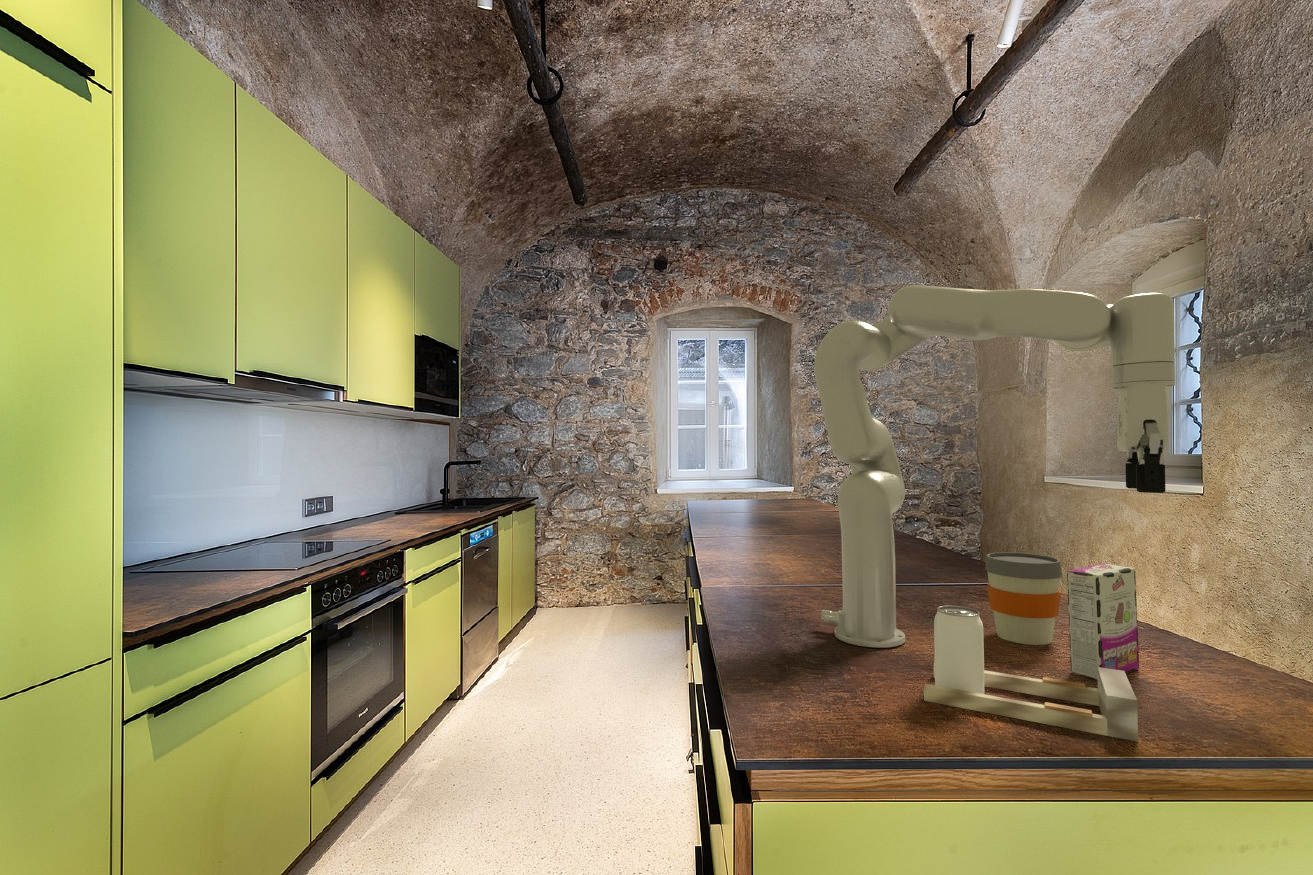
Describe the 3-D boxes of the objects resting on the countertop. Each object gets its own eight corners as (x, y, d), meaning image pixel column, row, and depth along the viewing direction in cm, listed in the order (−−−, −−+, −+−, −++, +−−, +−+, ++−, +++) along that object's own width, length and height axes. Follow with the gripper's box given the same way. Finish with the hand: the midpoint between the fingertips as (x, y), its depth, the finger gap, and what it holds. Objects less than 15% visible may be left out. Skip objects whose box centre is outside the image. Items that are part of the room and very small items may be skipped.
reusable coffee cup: (984, 641, 113) (982, 559, 113) (988, 624, 124) (986, 550, 124) (1065, 652, 106) (1063, 566, 107) (1062, 633, 117) (1060, 555, 117)
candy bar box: (1105, 660, 102) (1103, 562, 102) (1140, 670, 98) (1138, 567, 98) (1067, 672, 97) (1065, 569, 97) (1102, 683, 93) (1099, 574, 93)
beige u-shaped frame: (924, 700, 86) (923, 665, 87) (934, 675, 96) (934, 643, 96) (1138, 741, 74) (1137, 700, 74) (1125, 707, 84) (1124, 670, 84)
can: (990, 703, 85) (989, 617, 86) (941, 699, 87) (939, 615, 87) (976, 685, 92) (975, 605, 92) (930, 682, 93) (929, 603, 93)
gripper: (1104, 383, 102) (1106, 486, 101) (1120, 373, 87) (1122, 493, 86) (1162, 381, 98) (1164, 487, 98) (1189, 369, 83) (1191, 495, 83)
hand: (1144, 490), depth 92 cm, fingers open, 9 cm apart
